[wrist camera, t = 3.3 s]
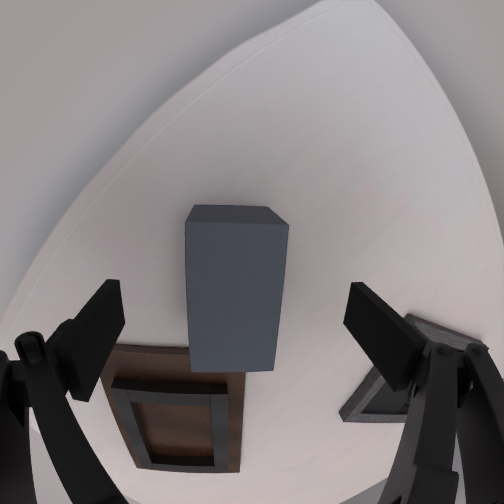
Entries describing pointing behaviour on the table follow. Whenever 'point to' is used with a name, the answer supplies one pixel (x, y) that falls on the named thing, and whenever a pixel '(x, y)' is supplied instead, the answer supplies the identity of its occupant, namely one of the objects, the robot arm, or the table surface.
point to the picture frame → (379, 392)
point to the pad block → (234, 286)
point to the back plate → (175, 410)
